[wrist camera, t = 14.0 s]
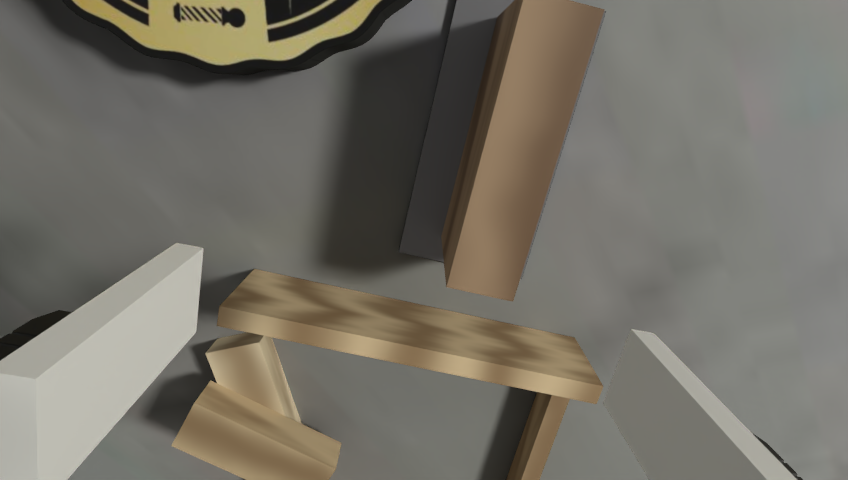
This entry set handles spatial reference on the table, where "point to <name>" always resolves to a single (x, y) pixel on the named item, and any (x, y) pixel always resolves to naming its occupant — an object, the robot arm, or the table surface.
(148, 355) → the robot arm
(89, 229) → the table surface
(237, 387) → the slab long
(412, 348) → the rack
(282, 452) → the slab short
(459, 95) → the mat
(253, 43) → the sign
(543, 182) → the brown wooden block
